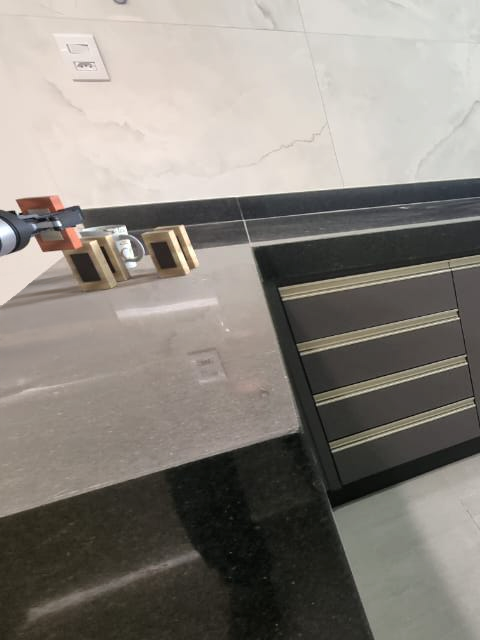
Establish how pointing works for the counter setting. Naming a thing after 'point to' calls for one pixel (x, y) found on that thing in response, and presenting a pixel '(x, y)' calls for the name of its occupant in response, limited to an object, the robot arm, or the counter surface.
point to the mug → (118, 242)
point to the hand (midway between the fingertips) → (61, 213)
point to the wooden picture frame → (170, 250)
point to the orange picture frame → (50, 238)
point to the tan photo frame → (97, 263)
